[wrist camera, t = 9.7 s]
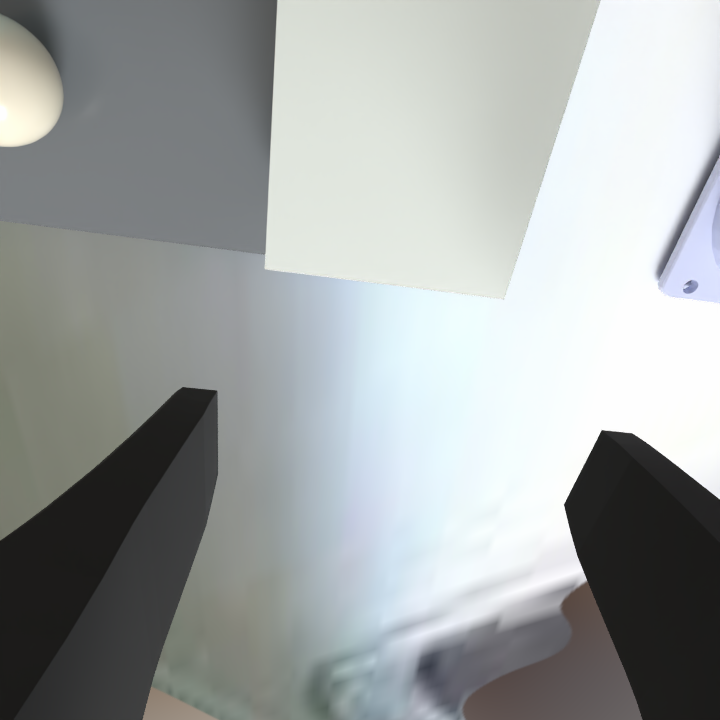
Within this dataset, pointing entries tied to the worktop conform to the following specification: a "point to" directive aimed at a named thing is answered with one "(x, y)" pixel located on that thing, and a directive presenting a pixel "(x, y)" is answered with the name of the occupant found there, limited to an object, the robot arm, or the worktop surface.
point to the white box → (415, 135)
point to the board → (151, 121)
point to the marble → (26, 86)
